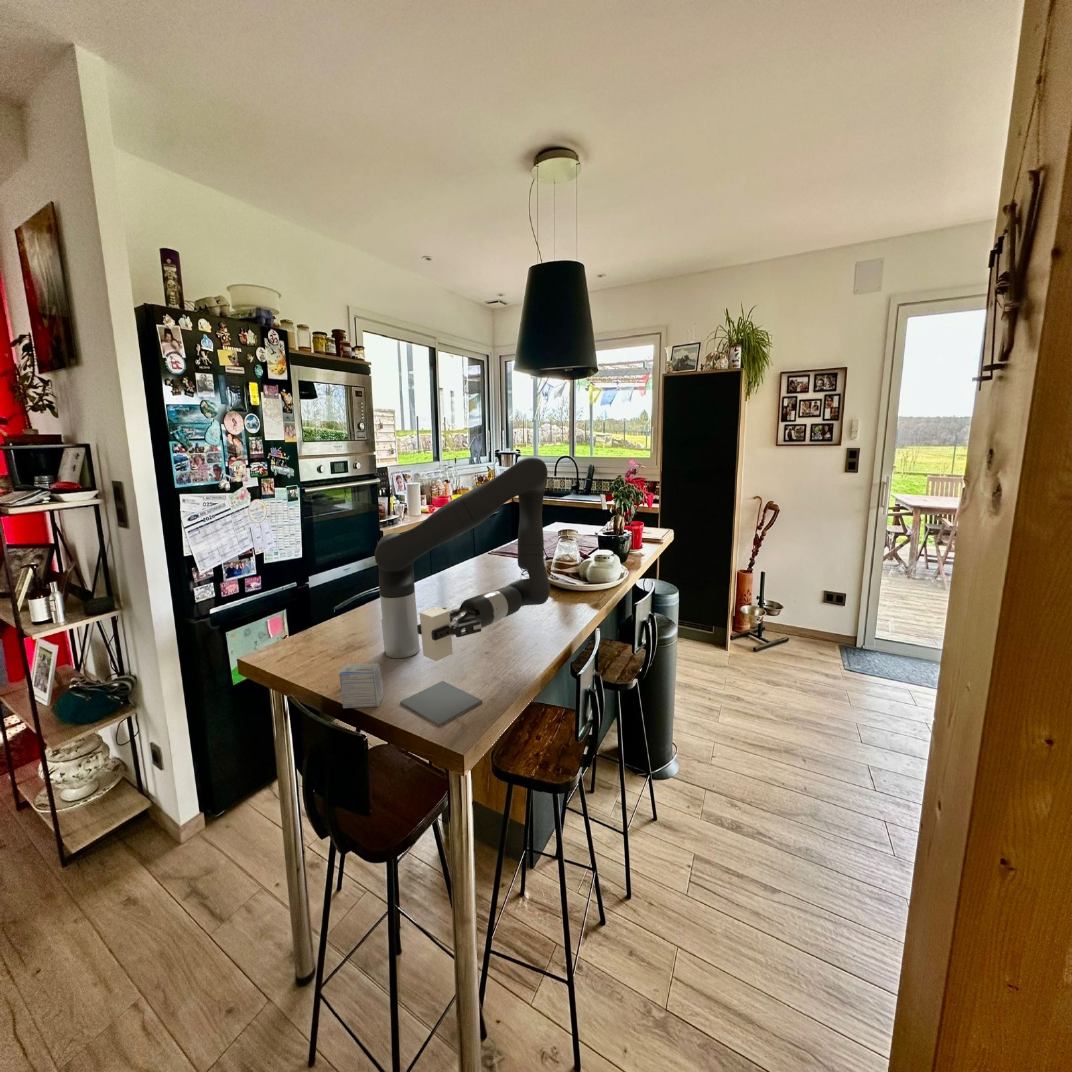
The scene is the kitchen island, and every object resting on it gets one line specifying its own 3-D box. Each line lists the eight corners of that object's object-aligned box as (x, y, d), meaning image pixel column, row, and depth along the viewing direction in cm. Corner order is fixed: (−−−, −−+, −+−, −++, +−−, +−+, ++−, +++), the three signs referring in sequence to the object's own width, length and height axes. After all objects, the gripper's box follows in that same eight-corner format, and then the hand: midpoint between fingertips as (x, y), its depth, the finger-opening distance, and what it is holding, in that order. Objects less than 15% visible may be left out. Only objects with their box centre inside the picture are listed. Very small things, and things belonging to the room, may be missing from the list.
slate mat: (400, 703, 110) (400, 701, 110) (442, 682, 118) (442, 680, 118) (438, 727, 101) (438, 724, 100) (482, 702, 109) (481, 700, 109)
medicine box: (383, 697, 113) (380, 662, 111) (378, 707, 109) (374, 671, 107) (349, 698, 113) (345, 663, 111) (342, 709, 108) (338, 673, 106)
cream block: (423, 655, 107) (419, 612, 105) (439, 648, 110) (436, 606, 108) (436, 661, 104) (432, 617, 102) (452, 653, 107) (449, 610, 105)
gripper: (463, 589, 120) (404, 609, 108) (505, 600, 111) (445, 624, 98) (465, 617, 122) (407, 640, 109) (506, 631, 112) (447, 658, 100)
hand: (425, 632), depth 104 cm, fingers closed on cream block, 4 cm apart
